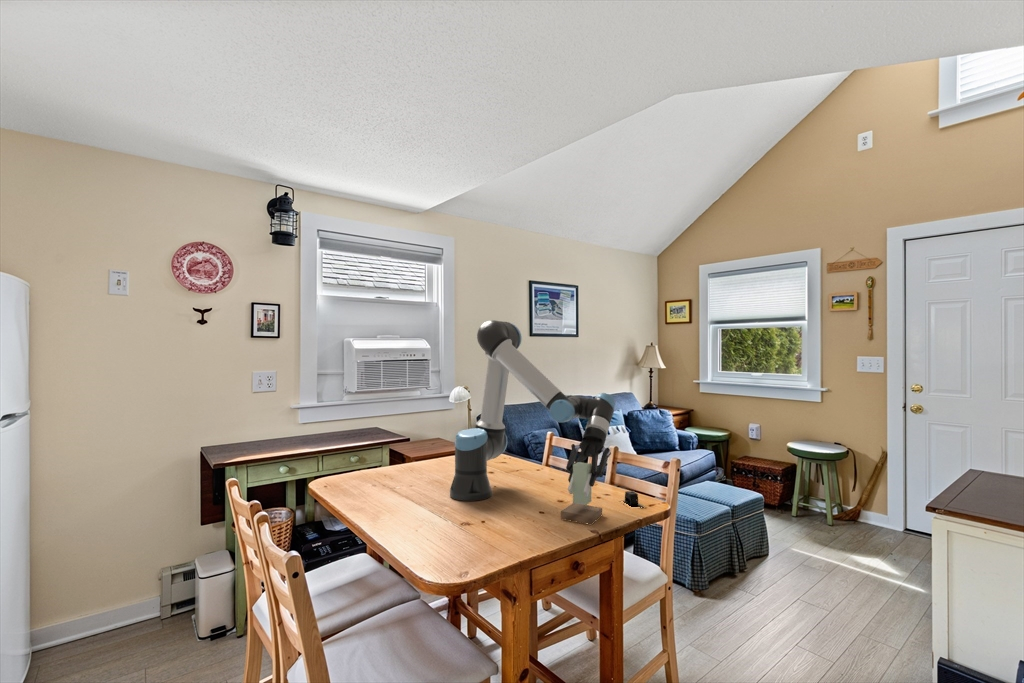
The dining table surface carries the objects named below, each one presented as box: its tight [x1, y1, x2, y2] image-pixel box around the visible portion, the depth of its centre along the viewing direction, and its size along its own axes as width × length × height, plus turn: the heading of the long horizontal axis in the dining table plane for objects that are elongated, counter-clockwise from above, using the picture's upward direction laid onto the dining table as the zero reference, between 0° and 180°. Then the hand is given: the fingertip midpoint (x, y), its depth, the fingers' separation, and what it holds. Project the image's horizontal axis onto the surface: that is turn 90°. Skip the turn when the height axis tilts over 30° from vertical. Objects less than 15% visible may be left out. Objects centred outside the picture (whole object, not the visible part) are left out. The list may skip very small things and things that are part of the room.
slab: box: [560, 502, 603, 525], centre depth 156 cm, size 10×10×3 cm
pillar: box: [572, 462, 592, 505], centre depth 157 cm, size 4×4×12 cm
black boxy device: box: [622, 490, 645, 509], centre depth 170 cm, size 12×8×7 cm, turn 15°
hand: (577, 492), depth 153 cm, fingers closed on pillar, 4 cm apart
